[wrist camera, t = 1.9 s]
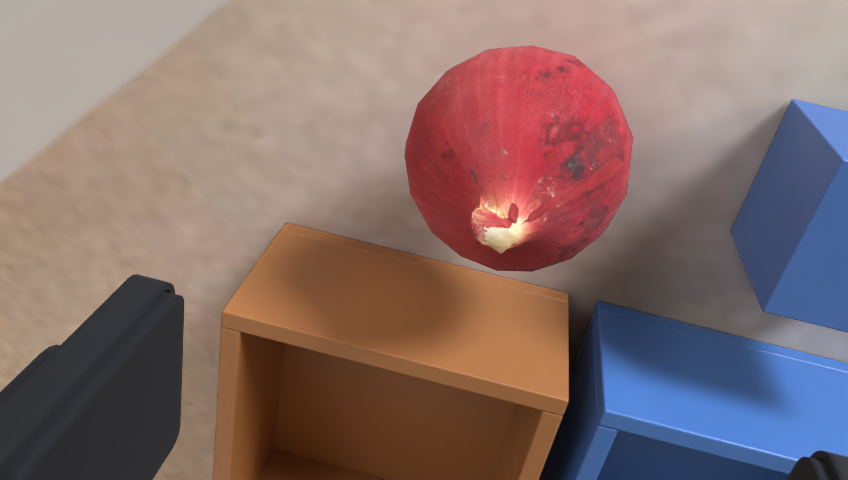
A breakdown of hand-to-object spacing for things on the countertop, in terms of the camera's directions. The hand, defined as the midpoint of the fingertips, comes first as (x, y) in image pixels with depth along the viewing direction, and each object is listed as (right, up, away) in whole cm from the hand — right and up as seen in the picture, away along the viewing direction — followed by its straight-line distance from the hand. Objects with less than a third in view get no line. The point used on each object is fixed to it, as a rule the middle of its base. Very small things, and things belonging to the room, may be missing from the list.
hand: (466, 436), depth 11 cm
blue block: (+12, +5, +11) cm, 17 cm away
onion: (+2, +7, +12) cm, 14 cm away
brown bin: (-2, -2, +17) cm, 18 cm away
